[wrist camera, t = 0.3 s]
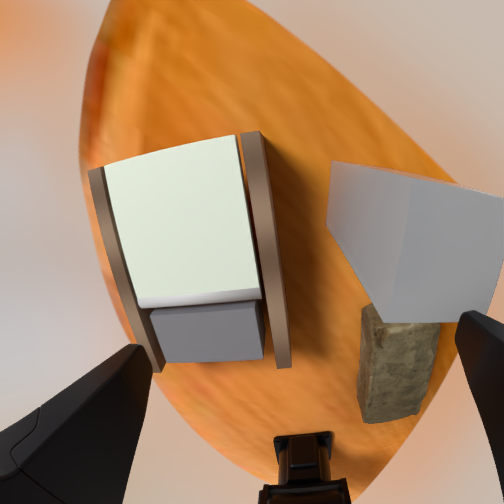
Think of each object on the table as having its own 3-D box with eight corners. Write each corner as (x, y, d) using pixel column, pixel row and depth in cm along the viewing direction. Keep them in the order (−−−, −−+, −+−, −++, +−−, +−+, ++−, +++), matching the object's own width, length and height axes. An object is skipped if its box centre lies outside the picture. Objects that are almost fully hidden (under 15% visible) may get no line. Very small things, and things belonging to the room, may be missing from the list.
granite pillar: (384, 230, 21) (483, 320, 9) (325, 224, 21) (383, 322, 9) (392, 168, 19) (515, 202, 7) (331, 160, 20) (412, 177, 7)
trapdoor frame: (289, 328, 24) (291, 367, 19) (168, 336, 25) (149, 372, 21) (263, 135, 19) (258, 130, 15) (123, 165, 21) (87, 171, 16)
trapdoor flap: (271, 329, 23) (270, 359, 19) (174, 335, 24) (160, 363, 20) (241, 137, 18) (234, 134, 15) (130, 162, 19) (103, 166, 16)
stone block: (420, 288, 22) (446, 319, 18) (406, 385, 26) (420, 419, 21) (356, 300, 23) (373, 335, 18) (354, 396, 27) (362, 433, 22)
